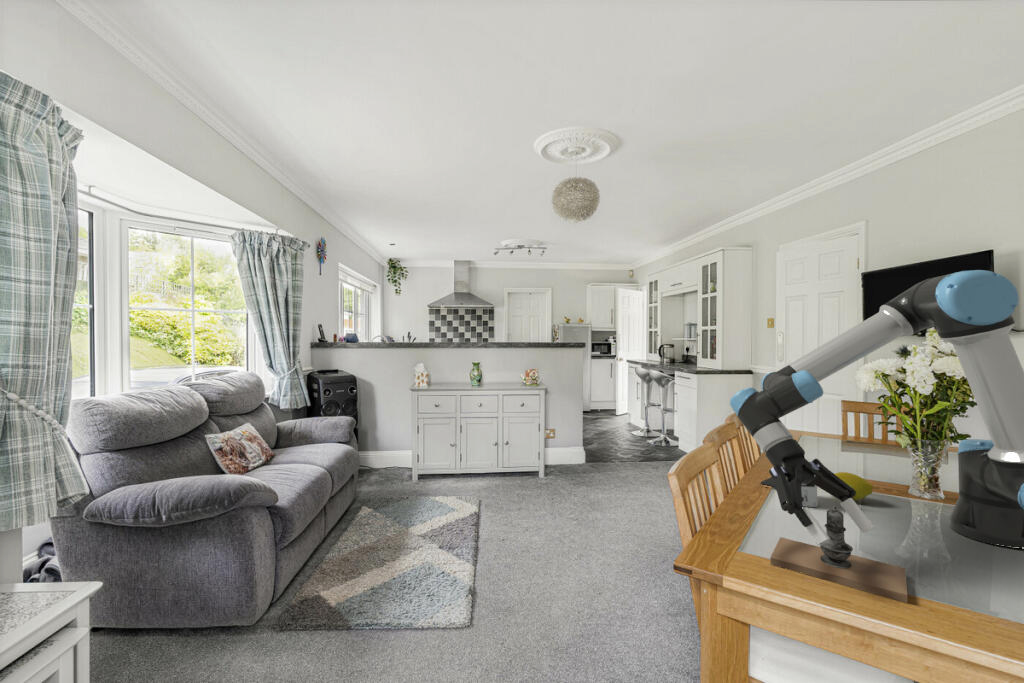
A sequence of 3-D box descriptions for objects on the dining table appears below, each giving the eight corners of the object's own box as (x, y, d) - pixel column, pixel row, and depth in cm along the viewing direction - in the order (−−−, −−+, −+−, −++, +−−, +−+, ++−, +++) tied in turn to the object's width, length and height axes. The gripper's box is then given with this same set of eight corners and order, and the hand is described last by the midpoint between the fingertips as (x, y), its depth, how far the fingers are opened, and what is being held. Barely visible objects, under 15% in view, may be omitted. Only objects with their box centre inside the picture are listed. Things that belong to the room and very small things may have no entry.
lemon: (822, 497, 131) (822, 471, 131) (833, 492, 135) (833, 466, 135) (866, 509, 122) (866, 480, 122) (877, 502, 126) (876, 475, 126)
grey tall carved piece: (820, 552, 96) (819, 498, 95) (853, 560, 92) (853, 504, 92) (817, 563, 91) (816, 506, 91) (852, 572, 87) (851, 513, 87)
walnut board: (905, 575, 89) (904, 567, 89) (907, 603, 80) (907, 595, 80) (780, 543, 103) (780, 537, 103) (770, 564, 94) (770, 557, 94)
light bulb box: (818, 507, 123) (818, 470, 123) (792, 506, 125) (791, 469, 125) (801, 494, 134) (800, 459, 134) (777, 493, 135) (776, 458, 135)
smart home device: (759, 482, 142) (785, 469, 154) (759, 487, 142) (785, 474, 154) (787, 488, 135) (811, 475, 147) (787, 494, 135) (811, 480, 147)
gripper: (806, 449, 110) (872, 532, 96) (729, 460, 101) (790, 553, 87) (827, 432, 105) (900, 518, 91) (748, 442, 96) (816, 538, 82)
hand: (847, 535), depth 89 cm, fingers open, 13 cm apart
